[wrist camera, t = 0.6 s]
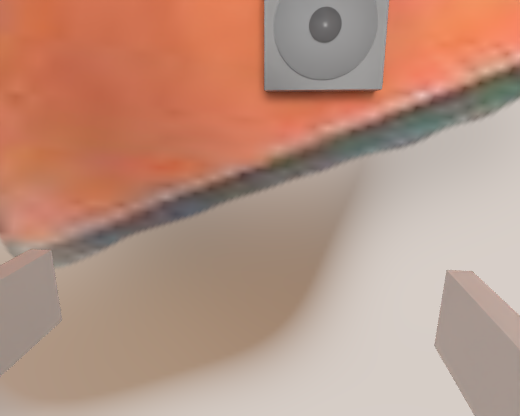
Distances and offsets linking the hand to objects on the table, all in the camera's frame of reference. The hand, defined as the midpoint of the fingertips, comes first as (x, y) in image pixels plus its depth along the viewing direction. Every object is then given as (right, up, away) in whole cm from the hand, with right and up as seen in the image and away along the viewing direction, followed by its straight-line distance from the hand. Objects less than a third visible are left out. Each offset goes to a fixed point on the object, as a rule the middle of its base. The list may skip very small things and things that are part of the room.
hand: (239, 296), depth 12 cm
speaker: (+6, +19, +21) cm, 29 cm away
